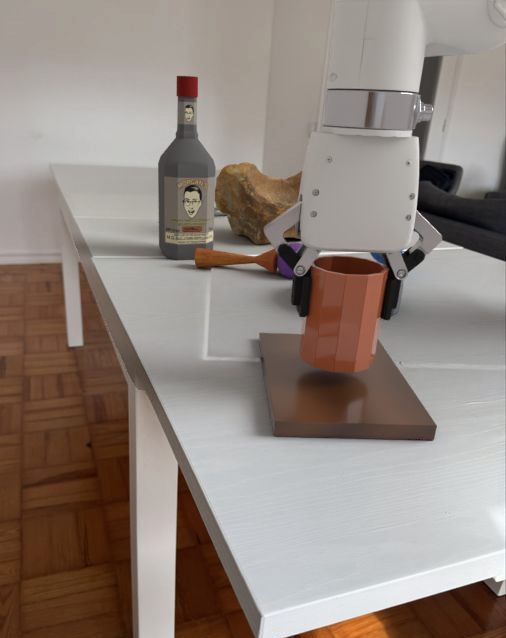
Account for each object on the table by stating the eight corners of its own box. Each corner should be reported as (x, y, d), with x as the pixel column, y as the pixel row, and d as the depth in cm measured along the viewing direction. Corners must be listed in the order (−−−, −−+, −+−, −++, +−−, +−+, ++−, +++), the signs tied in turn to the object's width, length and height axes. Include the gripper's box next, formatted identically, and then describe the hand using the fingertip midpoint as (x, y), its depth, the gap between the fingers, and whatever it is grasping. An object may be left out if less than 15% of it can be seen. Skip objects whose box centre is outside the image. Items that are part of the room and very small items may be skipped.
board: (374, 347, 66) (376, 336, 65) (434, 440, 48) (437, 425, 47) (258, 344, 65) (259, 332, 65) (273, 436, 47) (274, 421, 47)
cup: (362, 343, 59) (376, 256, 55) (381, 373, 52) (397, 277, 48) (296, 341, 58) (304, 254, 55) (305, 371, 52) (316, 274, 48)
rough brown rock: (217, 251, 109) (223, 174, 102) (210, 227, 124) (215, 158, 117) (330, 256, 113) (343, 181, 106) (310, 232, 127) (320, 165, 120)
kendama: (204, 239, 97) (317, 243, 91) (203, 273, 98) (315, 279, 92) (191, 240, 91) (311, 243, 86) (191, 276, 93) (309, 282, 87)
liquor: (157, 248, 106) (154, 75, 94) (202, 247, 109) (206, 78, 97) (167, 261, 98) (166, 73, 86) (215, 258, 101) (221, 77, 89)
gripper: (452, 120, 50) (417, 304, 57) (262, 111, 49) (250, 298, 57) (489, 122, 43) (444, 331, 50) (268, 112, 42) (254, 325, 50)
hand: (341, 312), depth 53 cm, fingers closed on cup, 7 cm apart
